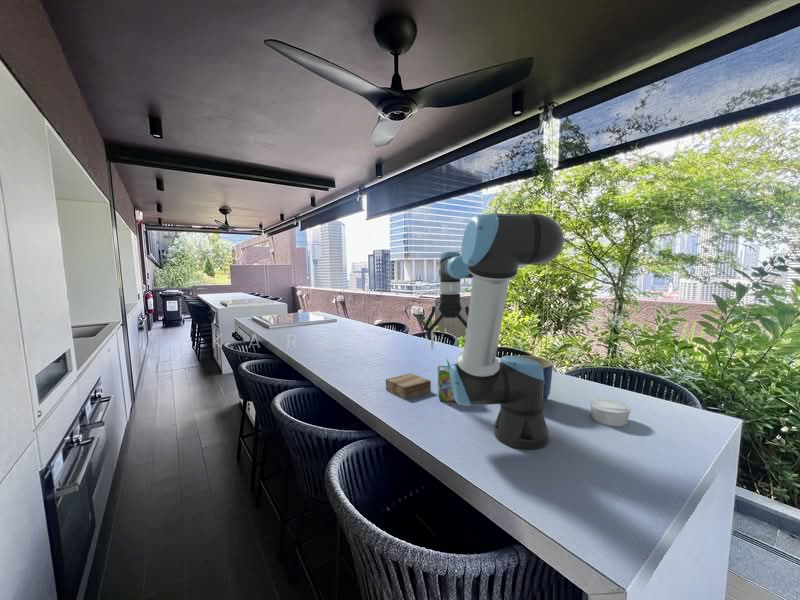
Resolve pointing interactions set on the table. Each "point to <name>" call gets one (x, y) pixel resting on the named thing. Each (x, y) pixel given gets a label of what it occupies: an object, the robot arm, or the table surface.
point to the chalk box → (444, 384)
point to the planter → (547, 372)
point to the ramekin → (610, 412)
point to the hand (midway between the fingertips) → (450, 348)
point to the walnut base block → (408, 386)
